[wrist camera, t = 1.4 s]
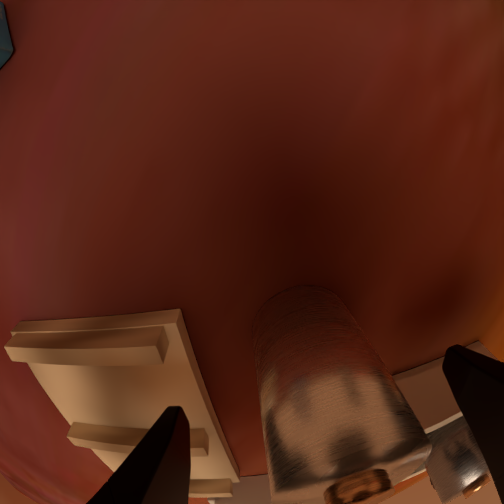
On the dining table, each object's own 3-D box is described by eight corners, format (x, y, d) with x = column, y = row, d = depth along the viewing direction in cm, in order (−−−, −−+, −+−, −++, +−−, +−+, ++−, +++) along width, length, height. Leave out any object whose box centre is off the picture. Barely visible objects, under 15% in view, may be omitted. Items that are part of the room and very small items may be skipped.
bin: (478, 340, 13) (514, 377, 9) (448, 411, 15) (470, 445, 11) (385, 378, 13) (416, 433, 9) (366, 444, 15) (384, 488, 11)
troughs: (180, 308, 10) (170, 343, 8) (239, 470, 15) (240, 496, 13) (20, 321, 10) (-2, 345, 8) (121, 467, 15) (116, 489, 13)
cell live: (348, 277, 11) (467, 431, 3) (345, 355, 12) (413, 498, 5) (244, 294, 10) (265, 499, 3) (258, 372, 12) (280, 536, 5)
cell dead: (459, 372, 13) (520, 453, 6) (441, 410, 14) (487, 485, 7) (408, 394, 13) (465, 494, 6) (394, 431, 14) (435, 518, 7)
